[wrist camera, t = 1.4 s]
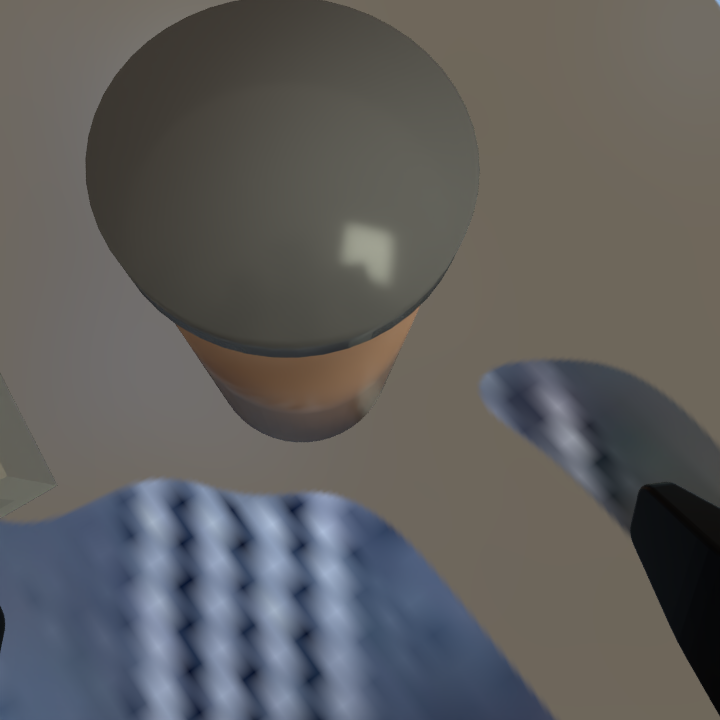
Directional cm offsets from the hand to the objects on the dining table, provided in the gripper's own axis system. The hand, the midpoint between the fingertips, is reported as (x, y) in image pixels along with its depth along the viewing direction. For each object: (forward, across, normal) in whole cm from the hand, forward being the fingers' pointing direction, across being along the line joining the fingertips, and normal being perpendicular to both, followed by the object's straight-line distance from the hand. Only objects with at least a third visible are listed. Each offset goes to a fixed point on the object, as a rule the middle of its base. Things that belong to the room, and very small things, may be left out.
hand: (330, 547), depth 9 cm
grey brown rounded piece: (+14, 0, +4) cm, 14 cm away
